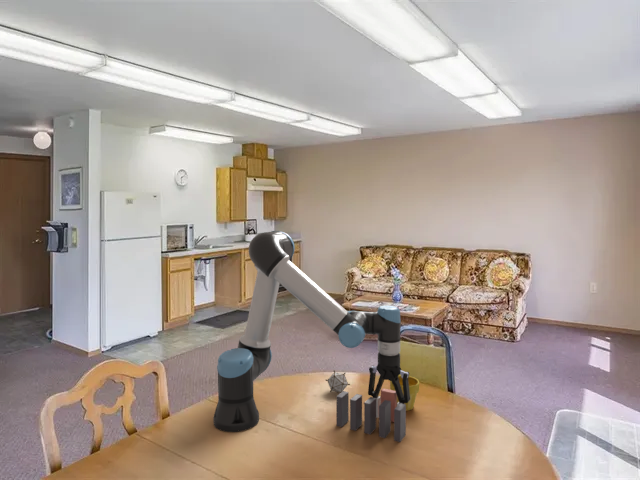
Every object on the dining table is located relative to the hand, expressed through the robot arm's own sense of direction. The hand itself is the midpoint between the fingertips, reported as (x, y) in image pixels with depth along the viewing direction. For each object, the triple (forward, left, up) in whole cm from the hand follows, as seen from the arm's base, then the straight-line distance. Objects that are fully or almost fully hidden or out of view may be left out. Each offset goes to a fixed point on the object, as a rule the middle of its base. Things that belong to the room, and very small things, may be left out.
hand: (388, 418), depth 155 cm
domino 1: (-13, -10, 0) cm, 16 cm away
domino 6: (+7, -10, 0) cm, 13 cm away
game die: (-26, +12, -1) cm, 28 cm away
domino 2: (-8, -10, 0) cm, 13 cm away
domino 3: (-3, -10, 0) cm, 10 cm away
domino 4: (0, 0, 0) cm, 0 cm away
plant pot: (+1, +12, -1) cm, 12 cm away
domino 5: (+2, -10, 0) cm, 10 cm away
